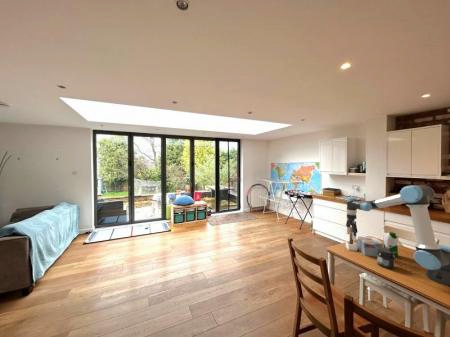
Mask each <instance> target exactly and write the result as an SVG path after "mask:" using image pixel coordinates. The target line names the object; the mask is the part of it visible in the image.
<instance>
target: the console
mask: <svg viewBox="0 0 450 337" xmlns="http://www.w3.org/2000/svg"><path fill="white" fill-rule="evenodd" d="M366 243H369V244H373V247H367V246H366ZM356 245H357V250H359V252H361V253H362V255H364V256H368V257H375V258H376V257H377V252H378V248H384V242H382V241H381V240H379V239H378V238H376V237H370V236H369V237H368V236H357V240H356Z"/></svg>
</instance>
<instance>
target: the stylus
mask: <svg viewBox="0 0 450 337" xmlns="http://www.w3.org/2000/svg"><path fill="white" fill-rule="evenodd" d="M349 242H350V244H353V242H354V240H353V230H352V226H351V227H350V234H349Z"/></svg>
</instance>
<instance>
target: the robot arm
mask: <svg viewBox="0 0 450 337" xmlns="http://www.w3.org/2000/svg"><path fill="white" fill-rule="evenodd" d="M435 195H436V193H435V191H434V189H433V188H432V187H431V186H428V185H425V184H417V185H414V184H413V185H407V186H403V187H402V188H401V190H400V191H399V193H398V194H393V195H389V196H385V197H382V198H376V199H373V200H364V201H363V200H362V201H360V200H358V199H357V198H356V197H354V196H353V197H351V196H349V197H346V223H345V226H346V234H347V235H350V227H352V230H353V241H354V240H356V241H357V234H358V231H359V230H358V227H357V221H356V220H357V212H358V211H357V210H359V211H364V212H370V211H371V210H378V209H382V208H386V207H390V206H391V207H392V206H396V205H397V206H398V205H402V204H405V206H407V207H408V208H409V211H410V214H411V215H410V216H411V220H412V225H413V228H414V233H415V237H416V241H417V243H416V244H415V252H414V253H413V258H414V260H415V262H416V263H417V264H418V265H420V267H422V268H424V269H426V271H425V276H426V277H427V278H428V279H430V280H432V281H434V282H436V283H439V284H440V285H441V284H442V285H444V286H448V287H450V247H449V246H447V245H443V244H438V243H437V242H436V238H435V233H434V229H433V225H432V220H431V217H430V213H429V209H428V207H429V206H430V201H431V200H433V199H434V198H435Z"/></svg>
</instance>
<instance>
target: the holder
mask: <svg viewBox="0 0 450 337" xmlns="http://www.w3.org/2000/svg"><path fill="white" fill-rule="evenodd" d="M345 248H346V249H347V250H349V251H358V248H357V243H355V241H353V244H350V241H345Z"/></svg>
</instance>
